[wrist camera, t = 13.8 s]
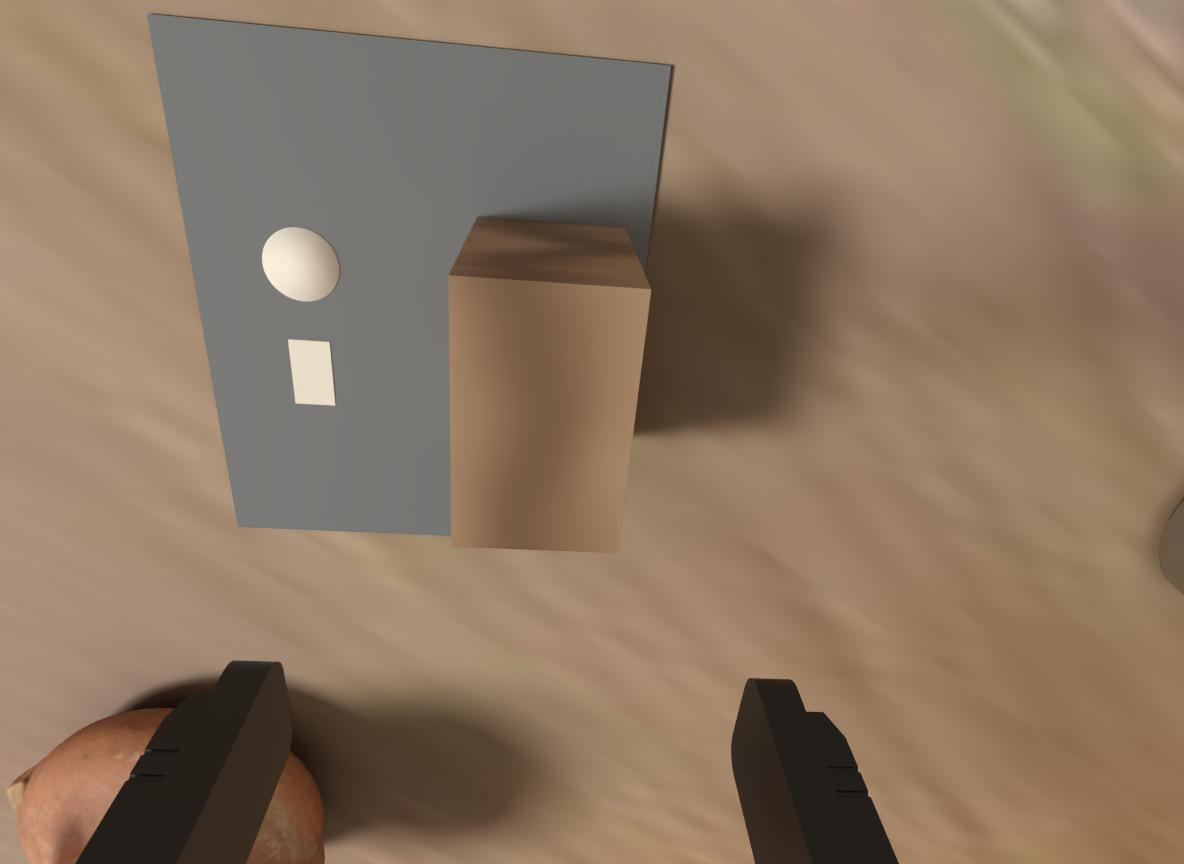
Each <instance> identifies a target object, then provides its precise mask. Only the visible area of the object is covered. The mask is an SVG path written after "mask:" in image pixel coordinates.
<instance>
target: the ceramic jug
mask: <svg viewBox="0 0 1184 864" xmlns="http://www.w3.org/2000/svg"><path fill="white" fill-rule="evenodd" d="M174 709H175V708H149V709H140V710H134V711H129V712H124V713H120V714H116V715H113V716H110V717H107V718H104V719H102V720H99V721H96V722H94V723H92V724H90V725H88V726H86V727H84V728H82V729H81V730H79V731H77V732H76V733H74V734H73V735H71V736H70V737H69V738H67V739H66V740H65V741H63V742H62V743H61V744H60V745H58V746H57V747H56V748H55V749H54V750H53V751H52V752H51V753H50V754H49V755H48V756H47V757H45V758H44V759H43V760H42V761H40V762H39V763H38V764H37V765H35V766H34V767H32V768H30V769H29V770H28V771H26V772H25V773H24V774H22V775H21V776H19V777H18V778H17V779H16V780H15V781H14V782H13V783H12V784H11V785H10V786H9V788H8V789H7V794H8V799H9V803H10V805H11V807H12V808H13V809H14V810H16V811H17V824H18V831H19V836H20V839H21V842H22V845H23V847H24V850H25V852H26V854H27V856H28V857H29V859H30V861H31V862H32V864H75V863H76V861H77V860H78V858H79V856H80V855H81V853H82V851H83V850H84V848H85V846H86V845H87V843H88V841H89V840H90V838H91V837H92V835H93V833H94V832H95V830H96V828H97V827H98V825H99V823H100V822H101V820H102V819H103V817H104V815H105V814H106V812H107V810H108V809H109V807H110V805H111V804H112V802H113V800H114V799H115V797H116V796H117V794H118V792H119V791H120V789H121V787H122V786H123V784H124V782H125V781H128V780H129V777H130V773H131V771H132V769H133V768H134V766H135V764H136V763H137V761H138V759H139V758H140V756H141V755H144V753H145V748H146V746H147V745H148V743H149V741H150V740H151V738H152V737H153V735H154V733H155V732H156V730H157V728H158V727H159V725H160V723H161V722H162V720H163V719H164V718H165V717H166V716H167V715H168V714H169V713H170V712H171V711H173V710H174ZM323 834H324V807H323V802H322V798H321V795H320V792H319V789H318V787H317V784H316V782H315V781H314V779H313V777H312V775H311V774H310V772H309V771H308V769H307V768H306V767H305V765H304V764H303V763H302V762H301V761H300V759H299V758H297V757H296V756H295V755H294V754H293V753H292V752H291V751H289V755H288V758H287V761H286V764H285V767H284V769H283V772H282V774H281V777H280V779H279V782H278V784H277V787H276V790H275V792H274V795H273V797H272V800H271V802H270V805H269V807H268V810H267V812H266V815H265V817H264V820H263V822H262V825H261V827H260V830H259V833H258V835H257V838H256V840H255V843H254V845H253V848H252V850H251V853H250V855H249V858H248V860H247V863H246V864H324V860H325V854H324V846H323Z"/></svg>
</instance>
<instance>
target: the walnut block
mask: <svg viewBox="0 0 1184 864" xmlns="http://www.w3.org/2000/svg"><path fill="white" fill-rule="evenodd" d="M448 286H449V378H450V470H451V547H475V548H501V549H527V550H553V551H579V552H605V553H618V551H619V543H620V535H621V527H622V519H623V511H624V503H625V495H626V487H627V479H628V471H629V463H630V455H631V447H632V440H633V432H634V424H635V416H636V408H637V400H638V392H639V384H640V376H641V368H642V360H643V352H644V344H645V336H646V328H647V320H648V312H649V304H650V296H651V287H650V285H649V283H648V280H647V278H646V275H645V273H644V271H643V268H642V266H641V264H640V261H639V259H638V257H637V254H636V252H635V249H634V247H633V245H632V242H631V240H630V238H629V235H628V233H627V230H626V228H621V227H607V226H594V225H581V224H568V223H555V222H542V221H529V220H516V219H502V218H489V217H477V218H476V220H475V222H474V224H473V226H472V228H471V230H470V232H469V234H468V236H467V239H466V241H465V243H464V245H463V247H462V249H461V251H460V253H459V255H458V257H457V259H456V261H455V263H454V265H453V267H452V269H451V271H450V273H449V275H448Z"/></svg>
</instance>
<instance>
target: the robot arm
mask: <svg viewBox="0 0 1184 864" xmlns="http://www.w3.org/2000/svg"><path fill="white" fill-rule="evenodd" d="M1159 560H1160V567H1161V569H1162V571H1163V574H1164V576H1165V578H1166V579H1167V580H1168V581H1169V582H1170V583H1171V584H1172V585H1173V586H1174V587H1175V588H1176V589H1177V590H1178V591H1180V592H1181V593H1182V594H1183V595H1184V500H1183V501H1182V502H1181V504H1180V505H1179V507H1178V508H1177V509H1176V511H1175V512H1174V514H1173V515H1172V517H1171V518H1170V520H1169V521H1168V524H1167V526H1166V528H1165V531H1164V533H1163V535H1162V538H1161V543H1160V549H1159ZM291 739H292V720H291V713H290V707H289V701H288V695H287V689H286V683H285V676H284V670H283V667H282V664H281V663H280V662H266V661H232V662H230V663H229V664H228V665H227V667H226V668H225V670H224V671H223V673H222V675H221V677H220V679H219V680H218V682H217V684H216V686H215V688H214V689H213V691H212V693H192V694H191V695H190V696H188V697H187V698H186V699H185V700H184V701H183V702H182V703H181V704H179V705H178V706H177V707H176V708H175V709H174V710H173V711H171V712H170V713H169V714H168V715H167V716H166V717H165V718H164V719H163V720H162V722H161V723H160V725H159V727H158V728H157V730H156V732H155V733H154V735H153V737H152V738H151V740H150V741H149V743H148V745H147V746H146V748H145V753H144V755H141V756H140V758H139V759H138V761H137V763H136V764H135V766H134V768H133V769H132V771H131V773H130V777H129V780H128V781H125V782H124V784H123V786H122V787H121V789H120V791H119V792H118V794H117V796H116V797H115V799H114V800H113V802H112V804H111V805H110V807H109V809H108V810H107V812H106V814H105V815H104V817H103V819H102V820H101V822H100V823H99V825H98V827H97V828H96V830H95V832H94V833H93V835H92V837H91V838H90V840H89V841H88V843H87V845H86V846H85V848H84V850H83V851H82V853H81V855H80V856H79V858H78V860H77V861H76V863H75V864H246V863H247V860H248V858H249V855H250V853H251V850H252V848H253V845H254V843H255V840H256V838H257V835H258V833H259V830H260V827H261V825H262V822H263V820H264V817H265V815H266V812H267V810H268V807H269V805H270V802H271V800H272V797H273V795H274V792H275V790H276V787H277V784H278V782H279V779H280V777H281V774H282V772H283V769H284V767H285V764H286V761H287V758H288V755H289V751H290V746H291ZM731 758H732V768H733V774H734V778H735V782H736V786H737V790H738V795H739V799H740V803H741V807H742V811H743V815H744V819H745V823H746V828H747V832H748V836H749V840H750V844H751V848H752V852H753V856H754V860H755V864H899V863H898V861H897V858H896V856H895V854H894V851H893V849H892V846H891V844H890V842H889V839H888V837H887V835H886V832H885V830H884V828H883V825H882V823H881V820H880V818H879V816H878V813H877V811H876V809H875V806H874V804H873V801H872V799H871V797H869V796H868V790H867V787H866V785H865V783H864V780H863V778H862V775H861V773H859V772H858V766H857V764H856V761H855V759H854V756H853V754H852V752H851V749H850V747H849V745H848V742H847V740H846V738H845V737H844V735H843V734H842V733H841V732H840V731H839V730H838V728H837V727H836V726H835V725H834V724H833V723H832V722H831V720H830V719H829V718H828V717H827V716H826V715H825V714H824V712H806V710H805V708H804V705H803V702H802V700H801V697H800V694H799V692H798V689H797V687H796V685H795V683H794V682H793V681H792V680H789V679H758V678H749V679H748V680H747V682H746V685H745V688H744V692H743V696H742V700H741V704H740V708H739V712H738V716H737V720H736V724H735V728H734V732H733V736H732V744H731Z"/></svg>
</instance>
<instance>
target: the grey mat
mask: <svg viewBox="0 0 1184 864" xmlns="http://www.w3.org/2000/svg"><path fill="white" fill-rule="evenodd" d="M147 17H148V22H149V28H150V34H151V39H152V45H153V51H154V56H155V62H156V67H157V73H158V79H159V84H160V90H161V96H162V101H163V107H164V112H165V118H166V124H167V129H168V135H169V141H170V146H171V152H172V157H173V163H174V169H175V174H176V180H177V186H178V191H179V197H180V202H181V208H182V214H183V219H184V225H185V231H186V236H187V242H188V247H189V253H190V259H191V264H192V270H193V276H194V281H195V287H196V292H197V298H198V304H199V309H200V315H201V321H202V326H203V332H204V337H205V343H206V349H207V354H208V360H209V366H210V371H211V377H212V382H213V388H214V394H215V399H216V405H217V411H218V416H219V422H220V427H221V433H222V439H223V444H224V450H225V456H226V461H227V467H228V472H229V478H230V484H231V489H232V495H233V501H234V506H235V512H236V517H237V523H238V527H255V528H279V529H303V530H326V531H350V532H374V533H398V534H421V535H445V536H451V470H450V378H449V286H448V275H449V273H450V271H451V269H452V267H453V265H454V263H455V261H456V259H457V257H458V255H459V253H460V251H461V249H462V247H463V245H464V243H465V241H466V239H467V236H468V234H469V232H470V230H471V228H472V226H473V224H474V222H475V220H476V218H477V217H489V218H502V219H516V220H529V221H542V222H555V223H568V224H581V225H594V226H607V227H621V228H626V230H627V233H628V235H629V238H630V240H631V242H632V245H633V247H634V249H635V252H636V254H637V257H638V259H639V261H640V264H641V266H642V268H643V271H644V273H646V265H647V257H648V248H649V240H650V232H651V224H652V216H653V208H654V200H655V192H656V184H657V175H658V167H659V159H660V151H661V143H662V135H663V127H664V119H665V111H666V102H667V94H668V86H669V78H670V70H671V65H661V64H650V63H640V62H630V61H620V60H610V59H600V58H590V57H580V56H570V55H559V54H549V53H539V52H529V51H519V50H509V49H499V48H489V47H478V46H468V45H458V44H448V43H438V42H428V41H418V40H408V39H398V38H387V37H377V36H367V35H357V34H347V33H337V32H327V31H317V30H307V29H296V28H286V27H276V26H266V25H256V24H246V23H236V22H226V21H215V20H205V19H195V18H185V17H175V16H165V15H155V14H147Z"/></svg>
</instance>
